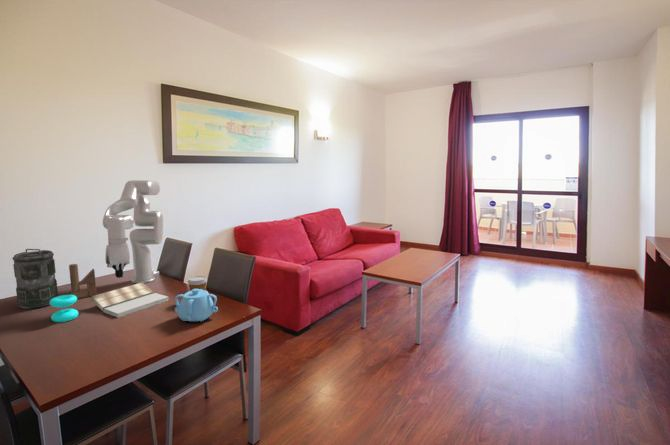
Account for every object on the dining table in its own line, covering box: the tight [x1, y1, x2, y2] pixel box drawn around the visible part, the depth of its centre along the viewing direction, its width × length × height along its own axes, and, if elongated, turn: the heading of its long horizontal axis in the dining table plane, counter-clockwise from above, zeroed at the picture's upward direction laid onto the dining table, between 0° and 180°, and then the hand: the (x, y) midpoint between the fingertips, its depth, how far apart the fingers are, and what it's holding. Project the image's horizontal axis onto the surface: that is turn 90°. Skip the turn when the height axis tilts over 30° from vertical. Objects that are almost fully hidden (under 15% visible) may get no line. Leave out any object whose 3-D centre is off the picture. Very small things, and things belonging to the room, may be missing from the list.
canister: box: [12, 248, 59, 310], centre depth 183 cm, size 16×16×28 cm
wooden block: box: [68, 263, 98, 300], centre depth 194 cm, size 4×11×18 cm, turn 130°
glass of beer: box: [187, 275, 208, 291], centre depth 191 cm, size 10×10×12 cm
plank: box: [91, 282, 154, 312], centre depth 189 cm, size 26×10×2 cm, turn 149°
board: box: [103, 291, 170, 318], centre depth 184 cm, size 26×12×2 cm, turn 149°
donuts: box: [49, 294, 79, 323], centre depth 167 cm, size 10×10×10 cm
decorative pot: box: [174, 289, 219, 323], centre depth 170 cm, size 16×16×14 cm
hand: (119, 277), depth 188 cm, fingers closed
